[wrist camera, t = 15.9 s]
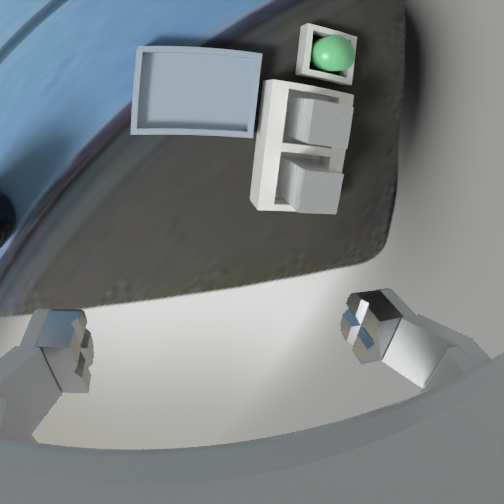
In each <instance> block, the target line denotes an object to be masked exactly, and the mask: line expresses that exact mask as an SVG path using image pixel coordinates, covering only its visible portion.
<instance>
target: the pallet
mask: <svg viewBox="0 0 504 504" xmlns="http://www.w3.org/2000/svg"><path fill="white" fill-rule="evenodd" d="M288 98H304V99H316V100H322V101H327V102H332V103H337V104H341V105H346V106H350V107H352V106H353V99H354V95H352V94H348V93H344V92H339V91H335V90H330V89H326V88H321V87H316V86H311V85H305V84H300V83H294V82H288V81H282V80H275V79H271V80H265V81H263V85H262V93H261V102H260V111H259V120H258V128H257V137H256V146H255V155H254V164H253V173H252V182H251V192H250V201H251V202H252V203H253V205H254V206H255V207H256V209H257V210H268V211H296V210H295V209H294V208H293V207H292V206H291V205H290V204H289V203H288V202H287V201H286V200H285V199H284V198H283V197H281V196H280V195H279V194H278V193H277V192H276V186H277V179H278V171H279V164H280V156H290V157H300V158H310V159H315V160H317V161H319V162H321V163H323V164H325V165H327V166H329V167H331V168H333V169H335V170H337V171H339V172H341V173H342V169H343V163H344V158H345V152H346V149H343V148H337V147H327V146H320V145H315V144H308V143H305V142H302V141H300V140H297V139H295V138H292V137H289V136H286V135H284V134H283V133H284V125H285V117H286V109H287V101H288Z"/></svg>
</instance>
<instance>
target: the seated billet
mask: <svg viewBox="0 0 504 504" xmlns="http://www.w3.org/2000/svg"><path fill="white" fill-rule="evenodd" d="M343 177H344V174H342V173H341V172H339V171H337V170H335V169H333V168H331V167H329V166H327V165H325V164H323V163H321V162H319V161H317V160H315V159H310V158H300V157H290V156H280V164H279V171H278V179H277V186H276V192H277V193H278V194H279V195H280V196H281V197H283V198H284V199H285V200H286V201H287V202H288V203H289V204H290V205H291V206H292V207H293V208H294V209H295V210H296V211H297V212H298V213H318V214H336V213H337V208H338V203H339V198H340V193H341V187H342V182H343Z"/></svg>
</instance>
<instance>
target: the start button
mask: <svg viewBox="0 0 504 504" xmlns="http://www.w3.org/2000/svg"><path fill="white" fill-rule="evenodd" d="M310 60H311V62H312V64H313V65H314V66H315V67H316V68H317V69H319V70H321V71H325V72H330V71H342V70H346V69H348V68H350V67H351V66H352V64H353V63H354V60H355V51H354V48H353V46H352V44H351V43H350V42H349V41H348V40H347V39H346V38H344V37H343V36H339V35H331V36H328V37H325V38H321V39H318V40H316V41H315V42H313V43H312V48H311V57H310Z"/></svg>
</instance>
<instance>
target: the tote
mask: <svg viewBox="0 0 504 504" xmlns="http://www.w3.org/2000/svg"><path fill="white" fill-rule="evenodd" d="M261 62H262V53H255V52H247V51H239V50H229V49H219V48H205V47H187V46H137V54H136V63H135V73H134V85H133V98H132V115H131V135H147V134H172V135H210V136H230V137H245V138H253V133H254V124H255V115H256V106H257V97H258V88H259V79H260V71H261Z"/></svg>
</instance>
